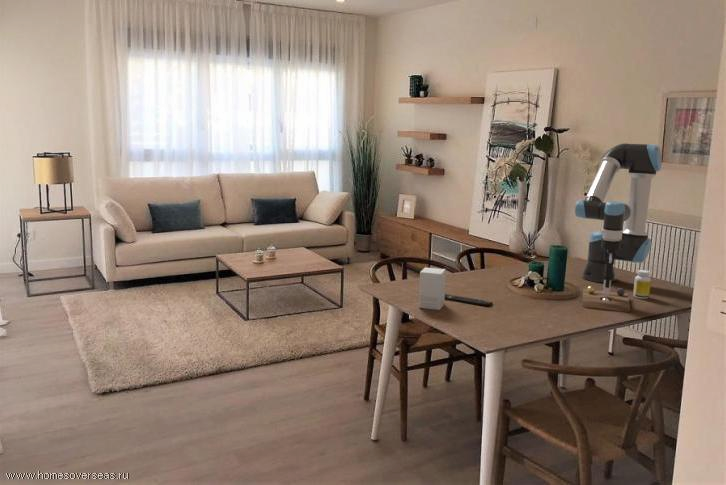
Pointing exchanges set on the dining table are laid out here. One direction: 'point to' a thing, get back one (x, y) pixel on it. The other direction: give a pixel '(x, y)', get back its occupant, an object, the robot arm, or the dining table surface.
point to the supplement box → (432, 288)
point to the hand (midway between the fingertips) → (606, 294)
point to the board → (614, 301)
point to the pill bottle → (642, 285)
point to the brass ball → (590, 289)
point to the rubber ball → (620, 291)
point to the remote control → (468, 300)
